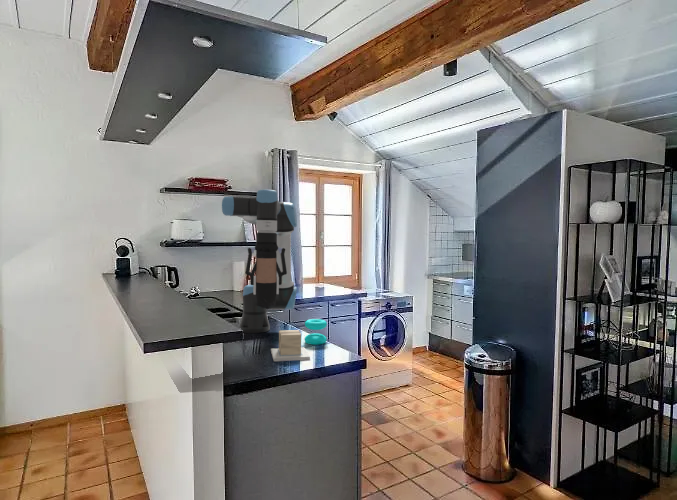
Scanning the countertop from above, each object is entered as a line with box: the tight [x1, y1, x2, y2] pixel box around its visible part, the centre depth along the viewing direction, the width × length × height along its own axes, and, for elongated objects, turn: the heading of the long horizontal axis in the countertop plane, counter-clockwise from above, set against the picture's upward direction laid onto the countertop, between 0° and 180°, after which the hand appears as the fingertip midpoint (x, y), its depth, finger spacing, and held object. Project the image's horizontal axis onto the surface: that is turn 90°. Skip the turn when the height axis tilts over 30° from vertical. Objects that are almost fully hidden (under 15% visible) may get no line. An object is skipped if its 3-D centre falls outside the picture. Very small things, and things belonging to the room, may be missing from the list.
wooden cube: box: [278, 329, 302, 355], centre depth 178 cm, size 8×8×8 cm
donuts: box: [304, 318, 328, 346], centre depth 200 cm, size 10×10×10 cm
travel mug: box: [255, 250, 277, 307], centre depth 163 cm, size 8×8×20 cm
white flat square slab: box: [270, 346, 311, 362], centre depth 178 cm, size 14×14×1 cm
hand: (265, 293), depth 163 cm, fingers closed on travel mug, 8 cm apart
